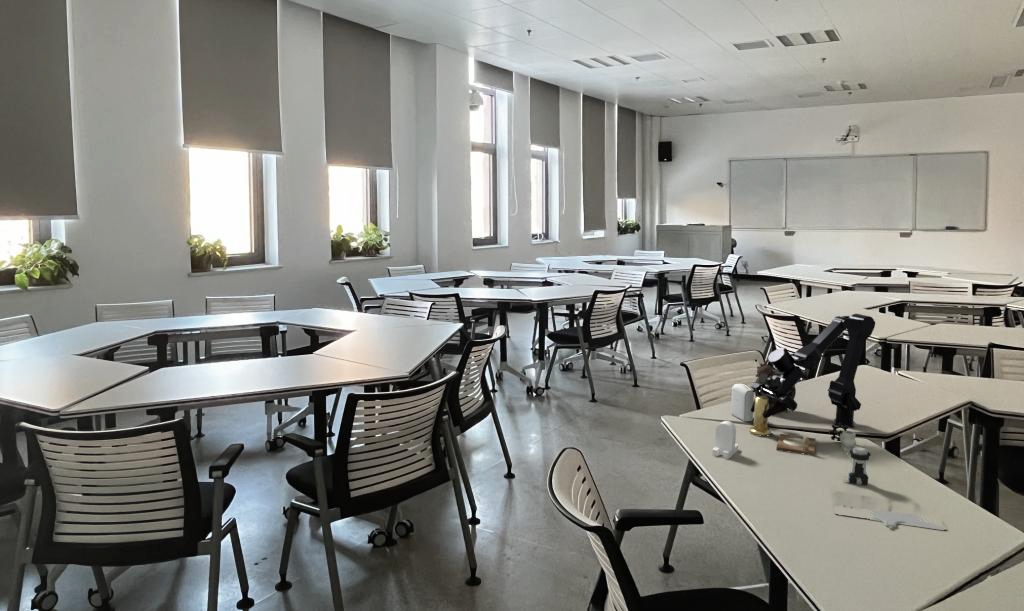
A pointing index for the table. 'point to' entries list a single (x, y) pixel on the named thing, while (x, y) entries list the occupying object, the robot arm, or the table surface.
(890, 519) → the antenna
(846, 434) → the valve
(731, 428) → the white phone stand
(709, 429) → the table surface
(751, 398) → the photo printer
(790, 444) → the base plate
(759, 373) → the alarm clock
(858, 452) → the black white upright piece
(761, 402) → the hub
